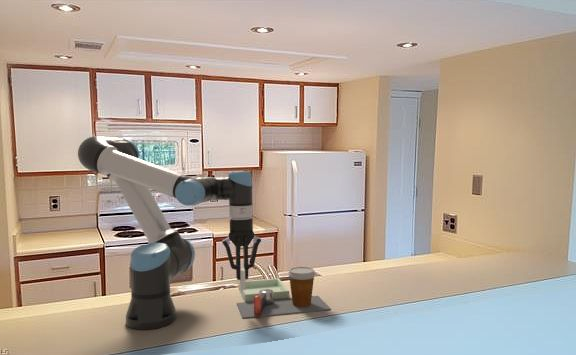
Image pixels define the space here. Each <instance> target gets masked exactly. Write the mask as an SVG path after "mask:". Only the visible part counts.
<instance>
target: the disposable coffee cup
mask: <svg viewBox="0 0 576 355" xmlns="http://www.w3.org/2000/svg"><path fill="white" fill-rule="evenodd" d="M287 275H288V278H289V285H290V286H289V287H290V293H291V298H292V302H293V305H294V306H296V307H307V306H310V305H311V298H312V296H313V288H314V280H315V276H316V272H315V269H314V268H312V267H308V266H296V267H295V266H293V267H291V268H289V270H288V272H287Z"/></svg>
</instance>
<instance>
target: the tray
mask: <svg viewBox="0 0 576 355" xmlns="http://www.w3.org/2000/svg"><path fill="white" fill-rule="evenodd" d="M262 289H271V290H273V300H275V299H286V298H290V290H289V289H288V288H287V286H286V285H285V284H284V283H283V281H282V280H281V279H280V278H279V277H277V278H266V279H254V280H253V279H251V280H245V290H241V289H240V280H238V290H239V292H240V294H241V297H242V299H243V302H244V301H245V302H252V301H254V296H255V295H259V291H260V290H262Z"/></svg>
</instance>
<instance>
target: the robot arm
mask: <svg viewBox="0 0 576 355" xmlns="http://www.w3.org/2000/svg"><path fill="white" fill-rule="evenodd" d="M77 157H78V160H79V162H80V164H81V165H82V166H83V167H84V168H86V169H87V170H89V171H92V172H94V173H97V174H100V175H102V176H106V177H107V179H108V180H109V181H111V182H115V183H116V185H117V187H118V189H119V191H120V193H121V194H122V196H123V198H124V200H125V201H126V203H127V204H128V207H129V209H130V211H131V213H132V214H133V215H134V216H133V217H134V218H135V220H136V221H137V223H138V224H139V226H140V228H141V230H142V233H143V234H144V235H145V238H146V239H147V241H148V242H147V244H142V245H138V246H137V247H136V248H134V249H133V250H132V251H131V253H130V261H129V266H130V283H131V284H130V289H131V290H130V291H131V294H130V296H131V297H130V302H129V305H128V307H127V311H126V315H125V325H126V326H127V327H128V328H131V329H134V330H144V331H145V330H153V329H154V330H155V329H160V328H162V327H166V326H168V325H171V324H172V323H173V322H175V321H176V320H177V309H176V307H175V304H174V301H173V298H172V295H171V280H172V279H173V278H175V277H178V276H179V275H182V274H183V273H185V272H186V271H187V270H188V269H190V268H191V267H192V266H193V263H194V261H195V256H196V254H195V253H196V251H195V248H194V245H193V243H191V242H190V241H189V240H188V239H185V238H183V237H182V236H181V234H180V233H179V231H178V230H176V229H173V228H171V226H170V224H169V222H168V220H167V219H166V217H165V215H164V213H163V212H162V209H161V208H160V206H159V204H158V203H157V201H156V198H155V197H154V195H153V194H152V191H150V190H153V191H156V192H158V193H161V194H164V195H166V196H170V197H173V198H175V199H176V200H177V201H178V202H179V204H181V205H183V206H197V205H199V204H203V203H206V202H210V201H219V200H220V201H222V200H223V201H228V205H229V206H228V207H229V210H228V211H229V212H228V213H229V214H228V216H229V218H230V220H229V233H228V236H227V237H226V238H225V239H222V240H221V243H222V245H223V246H224V248H225V251H226V254H227V257H228V262H229V266H230V268H231V269H232V270H235V275H236V277H235V278H236V280H238V281H240V289H241V290H245V281H246V280H248V279H249V270H250V269H251V268H254V267H255V263H256V258H257V252H258V248H259V245H260V244H261V242H262V239H261V238H260V237H259V236H256V235H255V233H254V226H253V225H254V224H253V223H254V222H253V221H254V220H253V218H252V217H254V216H253V181H252V179H253V178H252V173H251V172H250V171H248V170H232V171H231V170H230V171H229V172H228V176H226V177H220V176H217V177H216V176H214V177H213V176H212V177H211V176H203V177H202V176H201V177H197V178H194V177H191V176H188V175H185V174H183V173H180V172H178V171H174V170H172V169H168V168H165V167H163V166H160V165H157V164H154V163H152V162H148V161H145V160H143V159H142V158H141V159H140V151H139V148H138V147H137V144H135V142H133V141H132V140H131V139H129V138H125V137H122V136H104V135H103V136H101V135H94V136H90V137H87V138H86V139H84V140H83V141H82V142H81V143H80V145H79V147H78V149H77ZM230 241H231V242H230ZM251 242H253V245H252V248H251V253H250V258H249V245H250V244H251ZM231 243H232V244H233V245H234V248H235V262H234V258H233V255H232V250H231V247H230V244H231ZM241 247H242V252H243V255H242V256H243V268H242V266H241V265H242V264H241Z"/></svg>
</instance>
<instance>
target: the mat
mask: <svg viewBox="0 0 576 355" xmlns="http://www.w3.org/2000/svg"><path fill="white" fill-rule="evenodd" d="M236 306H237V308H238V310H239V313H240V314H239V315H241V318H242V319H253V318H254V319H255V318H264V317H273V316H274V317H275V316H284V315H293V314H304V313H313V312H314V313H315V312H316V313H317V312H322V311H323V312H324V311H325V312H326V311H331V310H332V308H331V307H330V306H328V304H327V303H326V301H324V300H323V299H322V298H321V297H320V296H319V295H312V298H311V305H310V306H307V307H296V306H294V305H293V302H292V297H289V298H286V299H275V300H273V304H272V305H266V306H265V308H264V309H263V311H262V312H261V315H260V316H254V301H252V302H244V301H243V302H236Z"/></svg>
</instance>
